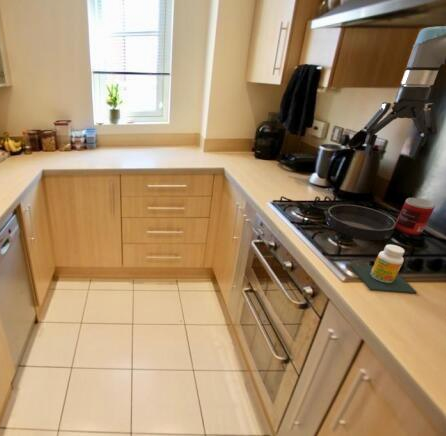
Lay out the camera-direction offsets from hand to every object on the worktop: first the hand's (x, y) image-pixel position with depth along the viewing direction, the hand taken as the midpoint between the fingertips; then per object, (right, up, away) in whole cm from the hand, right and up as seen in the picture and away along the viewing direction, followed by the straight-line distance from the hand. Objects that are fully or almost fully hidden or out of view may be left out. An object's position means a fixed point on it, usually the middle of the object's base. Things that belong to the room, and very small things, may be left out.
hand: (389, 155), depth 105 cm
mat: (-16, -38, -16) cm, 44 cm away
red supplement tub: (+13, -25, +8) cm, 29 cm away
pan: (-3, -24, +11) cm, 26 cm away
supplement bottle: (-16, -38, -16) cm, 44 cm away
